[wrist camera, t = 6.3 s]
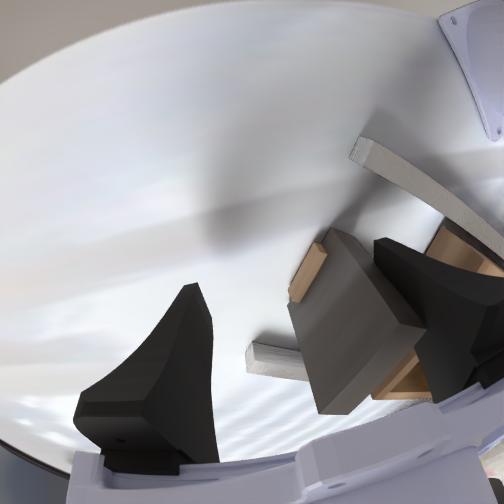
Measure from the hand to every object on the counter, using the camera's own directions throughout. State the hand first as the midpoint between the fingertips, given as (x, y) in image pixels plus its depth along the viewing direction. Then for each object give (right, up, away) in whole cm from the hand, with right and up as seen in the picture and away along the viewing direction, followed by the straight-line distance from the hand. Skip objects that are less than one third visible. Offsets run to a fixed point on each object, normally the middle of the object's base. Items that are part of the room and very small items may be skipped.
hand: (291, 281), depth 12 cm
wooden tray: (+9, -2, +5) cm, 11 cm away
